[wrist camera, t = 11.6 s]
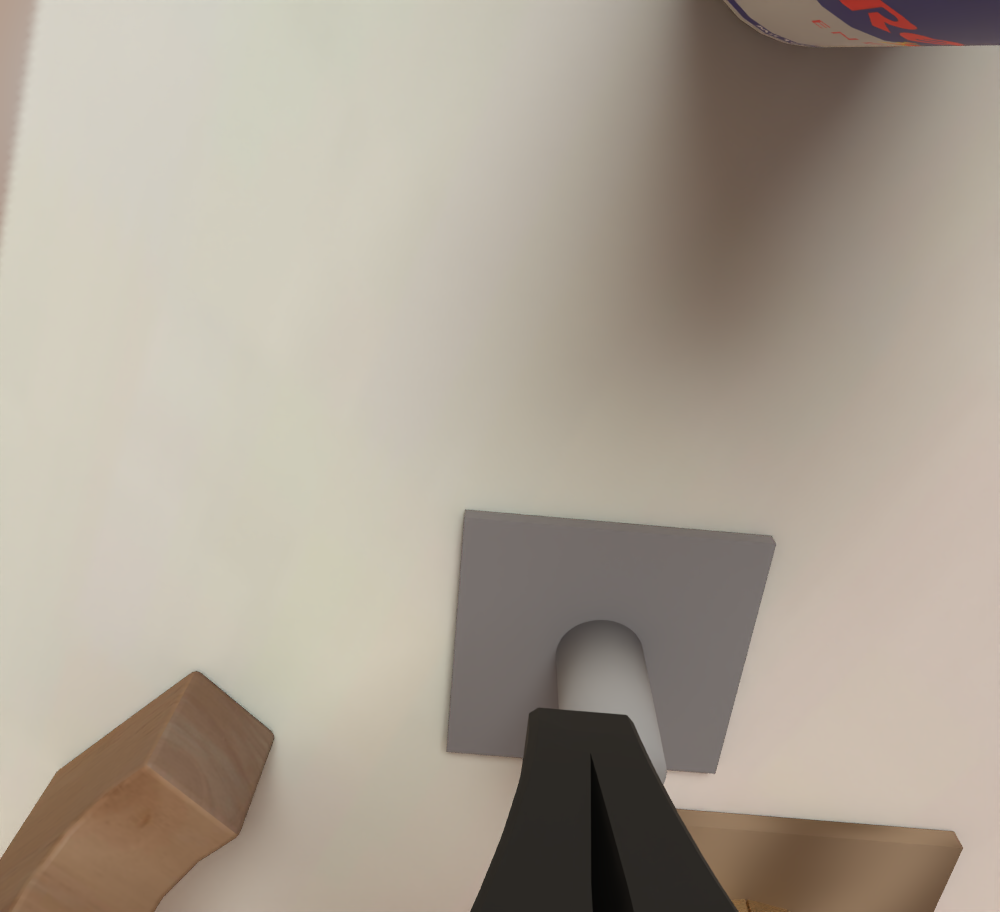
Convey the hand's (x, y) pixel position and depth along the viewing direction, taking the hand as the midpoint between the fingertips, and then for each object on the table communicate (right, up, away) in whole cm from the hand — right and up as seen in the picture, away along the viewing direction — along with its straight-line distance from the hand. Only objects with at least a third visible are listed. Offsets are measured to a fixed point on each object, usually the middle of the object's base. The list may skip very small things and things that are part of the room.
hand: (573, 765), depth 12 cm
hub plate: (+7, -12, +17) cm, 22 cm away
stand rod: (+2, -1, +12) cm, 12 cm away
